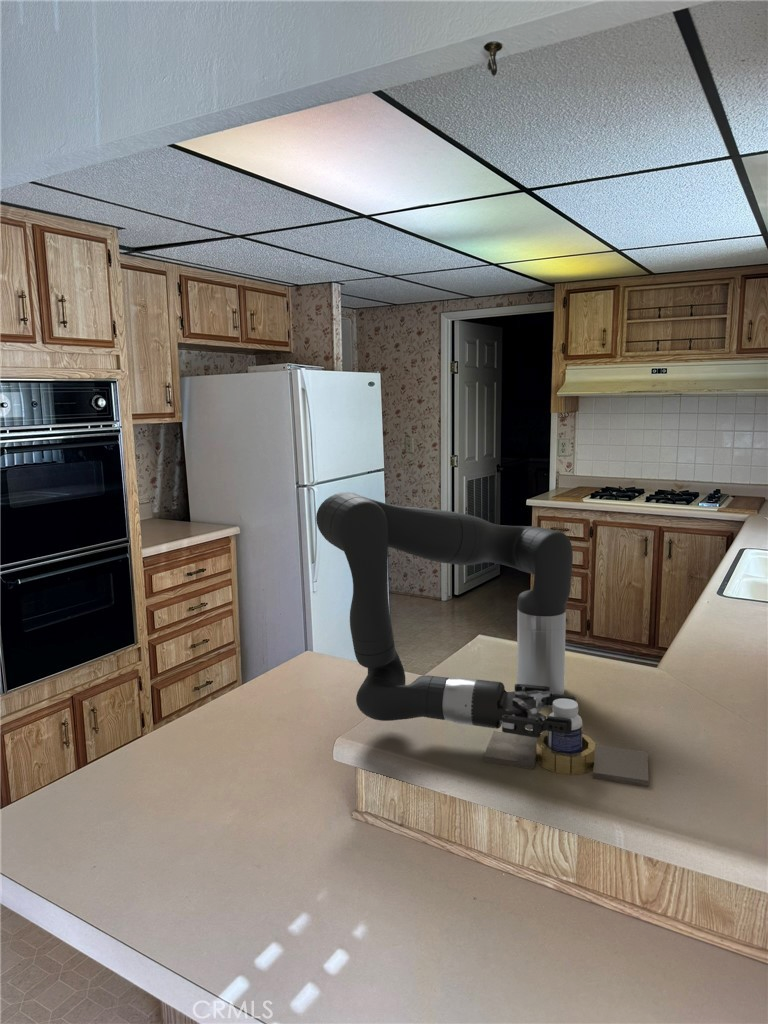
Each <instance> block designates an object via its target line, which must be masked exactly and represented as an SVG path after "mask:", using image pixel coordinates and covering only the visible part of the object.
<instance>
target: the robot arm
mask: <svg viewBox="0 0 768 1024" xmlns="http://www.w3.org/2000/svg"><path fill="white" fill-rule="evenodd" d="M315 520H316V525H317V529H318V531H319V532H320V534H321V535H322V537H323V538H324V539H325V540H326V541H327V542H328V543H330V544H331V545H332V546H334V547H336V548H338V549H339V550H341V551H342V552H343V553H344V555H345V558H346V561H347V563H348V567H349V569H350V573H351V578H352V590H353V591H352V599H351V602H350V609H349V627H350V628H349V630H350V635H351V639H352V645H353V651H354V655H355V659H356V660H357V662H358V664H359V665H361V666H362V667H363V668H366V669H367V675H366V677H365V679H364V681H363V682H362V684H361V685H360V687H359V689H358V691H357V692H356V696H355V697H356V698H355V701H356V706H357V707H358V710H359V711H360V712H361V713H362V714H364V715H365V716H366V717H368V718H370V719H373V720H376V721H381V722H382V721H383V722H390V721H399V720H409V719H416V718H427V719H434V720H442V721H449V722H452V723H456V724H458V725H459V724H460V725H465V726H466V725H467V726H474V727H481V728H490V729H496V730H497V729H500V728H501V732H505V733H511V734H517V735H523V736H529V737H535V738H539V737H540V734H542V733H545V732H546V731H552V732H559V733H567V734H569V733H571V730H572V720H571V719H569V718H562V717H554V716H549V715H547V716H546V715H545V714H543V713H540V712H541V711H542V710H543V709H548V708H552V707H553V701H554V700H556V699H571V700H574V701H576V702H577V698H576V697H575V696H574V695H570V694H569V695H567V694H565V676H566V674H565V673H566V671H565V669H566V627H567V626H566V623H567V622H566V619H567V618H566V617H567V614H566V613H567V612H566V609H567V602H568V600H569V597H570V593H571V586H572V575H573V574H572V572H573V560H574V559H573V557H574V555H573V546H572V542H571V539H570V538H569V537H568V535H567V534H566V533H564V532H562V531H559V530H554V529H549V528H546V527H545V528H544V527H540V526H531V525H528V526H526V525H503V524H502V525H500V524H495V523H492V522H490V521H487V520H486V519H483V518H481V517H478V516H474V515H471V514H466V513H462V512H461V513H460V512H456V511H450V510H442V509H436V508H435V509H434V508H428V507H427V508H425V507H413V506H401V505H394V504H390V503H385V502H382V501H378V500H375V499H371V498H368V497H365V496H363V495H360V494H357V493H355V492H350V491H346V492H338V493H334V494H333V495H330V496H328V498H326V499H324V501H323V502H321V504H320V505H319V507H318V508H317V511H316V517H315ZM389 548H392V549H394V550H397V551H401V552H403V553H406V554H409V555H412V556H415V557H418V558H422V559H425V560H427V561H428V560H429V561H432V562H436V563H442V564H449V565H458V566H473V565H478V564H483V563H493V564H499V565H503V566H507V567H510V568H512V569H516V570H518V571H520V572H521V571H522V572H524V573H527V574H530V575H533V577H534V578H533V586H532V589H527V590H524V591H522V592H520V593H519V594H518V596H517V615H516V616H517V625H516V627H517V629H516V630H517V639H516V646H517V647H516V651H517V652H516V660H517V661H516V683H515V684H514V689H513V691H506V688H505V685H504V683H503V682H501V681H495V680H486V679H485V680H484V679H477V678H476V679H475V678H467V677H445V676H436V675H435V676H434V675H420V676H418V677H417V678H416V679H415V680H414V681H412V682H411V683H409V684H406V672H405V668H404V666H403V664H402V661H401V658H400V655H399V654H398V651H397V650H396V647H395V638H394V631H393V626H392V625H393V624H392V619H391V613H390V604H389V601H390V600H389V591H388V590H389V589H388V588H389V585H388V583H389V580H388V579H389V578H388V576H389V575H388V573H389V571H388V570H389V569H388V564H389V563H388V562H389V560H388V557H389V556H388V555H389V553H388V552H389V551H388V550H389Z"/></svg>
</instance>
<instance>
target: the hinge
mask: <svg viewBox="0 0 768 1024" xmlns="http://www.w3.org/2000/svg"><path fill="white" fill-rule="evenodd" d="M547 746H548V731H546V732H545V733H540V737H539V738H535V737H529V736H523V735H517V734H511V733H505V732H503V731H496V730H495V731H493V733H492V734H491V737H490V739H489V742H488V745H487V747H486V749H485V752H484V753H483V763H488V764H489V763H490V764H497V765H502V766H509V767H516V768H522V769H530V770H534V769H535V765H536V762H538V763H539V765H540V766H541V767H542V768H544V769H547V770H548V771H550V772H552V773H556V774H561V775H569V776H574V775H581V774H586V773H588V772H589V771H591V770H592V769H593V770H592V779H595V780H601V781H607V782H612V783H613V782H615V783H620V784H627V785H633V786H634V785H635V786H640V787H646V788H649V782H650V781H649V761H648V760H649V759H648V757H649V755H648V751H643V750H635V749H628V748H627V749H626V748H620V747H614V746H606V745H599V744H596V742H595V741H593V739H592V738H591V737H590V736H589V735H586V734H584V733H582V752H581V753H572V754H568V753H561V752H556V751H554V750H552V749H550V748H548V747H547Z"/></svg>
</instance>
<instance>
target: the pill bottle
mask: <svg viewBox="0 0 768 1024" xmlns="http://www.w3.org/2000/svg"><path fill="white" fill-rule="evenodd" d="M551 709H552V712H550V714H549V715H548V716H554V717H562V718H569V719H571V720H572V730H571V733H569V734H567V733H559V732H552V731H548V746H547V747H548V748H550V749H552V750H554V751H556V752H561V753H568V754H572V753H581V752H582V734H583V720H582V717H581V716H580V715H579V704H578V702H577V700H576V701H574V700H571V699H556V700H554V701H553V705H552V707H551Z"/></svg>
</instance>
